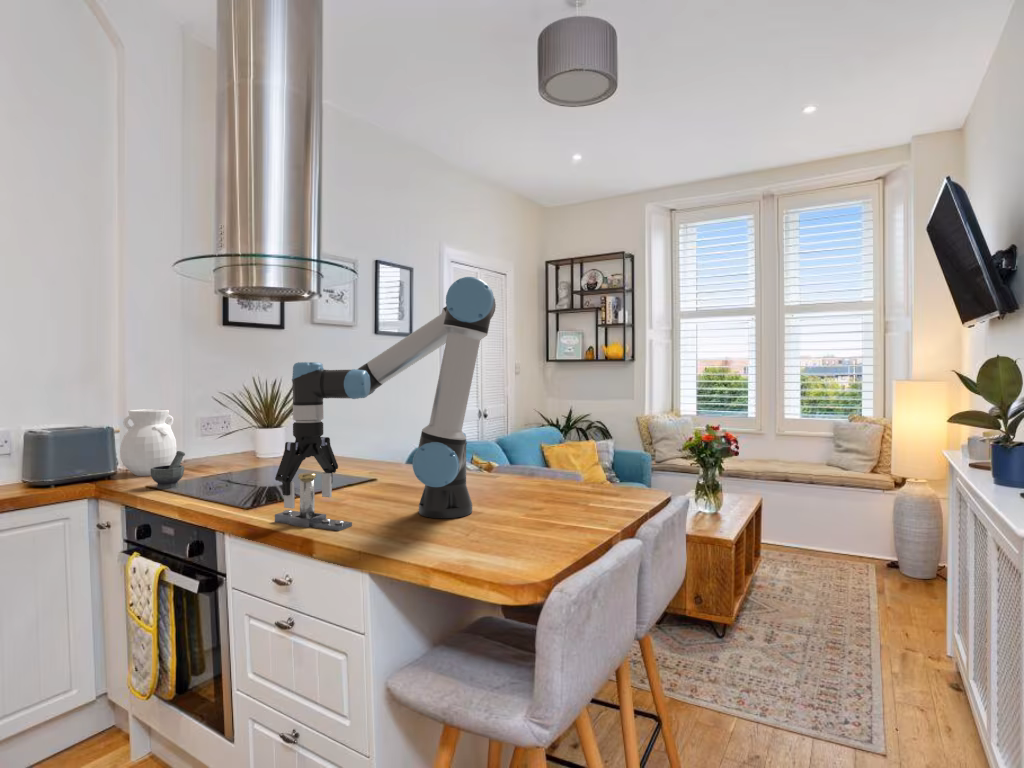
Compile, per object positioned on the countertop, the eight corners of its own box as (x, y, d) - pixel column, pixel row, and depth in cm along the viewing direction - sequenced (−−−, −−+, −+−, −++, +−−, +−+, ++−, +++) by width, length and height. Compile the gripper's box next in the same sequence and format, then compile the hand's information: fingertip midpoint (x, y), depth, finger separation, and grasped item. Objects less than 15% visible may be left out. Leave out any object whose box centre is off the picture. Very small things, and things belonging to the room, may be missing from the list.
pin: (319, 522, 149) (319, 473, 149) (307, 526, 145) (307, 475, 145) (306, 520, 151) (306, 471, 151) (294, 524, 147) (294, 474, 146)
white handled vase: (164, 468, 233) (163, 407, 232) (185, 473, 222) (185, 409, 221) (111, 474, 217) (111, 410, 217) (132, 480, 207) (131, 412, 206)
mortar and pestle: (163, 491, 188) (163, 455, 188) (144, 488, 191) (144, 453, 191) (193, 484, 198) (193, 450, 198) (174, 483, 202) (174, 449, 201)
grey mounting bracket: (353, 525, 146) (353, 515, 146) (337, 531, 140) (337, 521, 140) (290, 517, 154) (290, 507, 154) (272, 522, 148) (272, 512, 148)
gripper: (329, 417, 160) (330, 491, 161) (259, 424, 137) (260, 511, 138) (350, 418, 157) (351, 493, 158) (282, 425, 134) (283, 514, 135)
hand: (308, 502), depth 148 cm, fingers open, 13 cm apart
